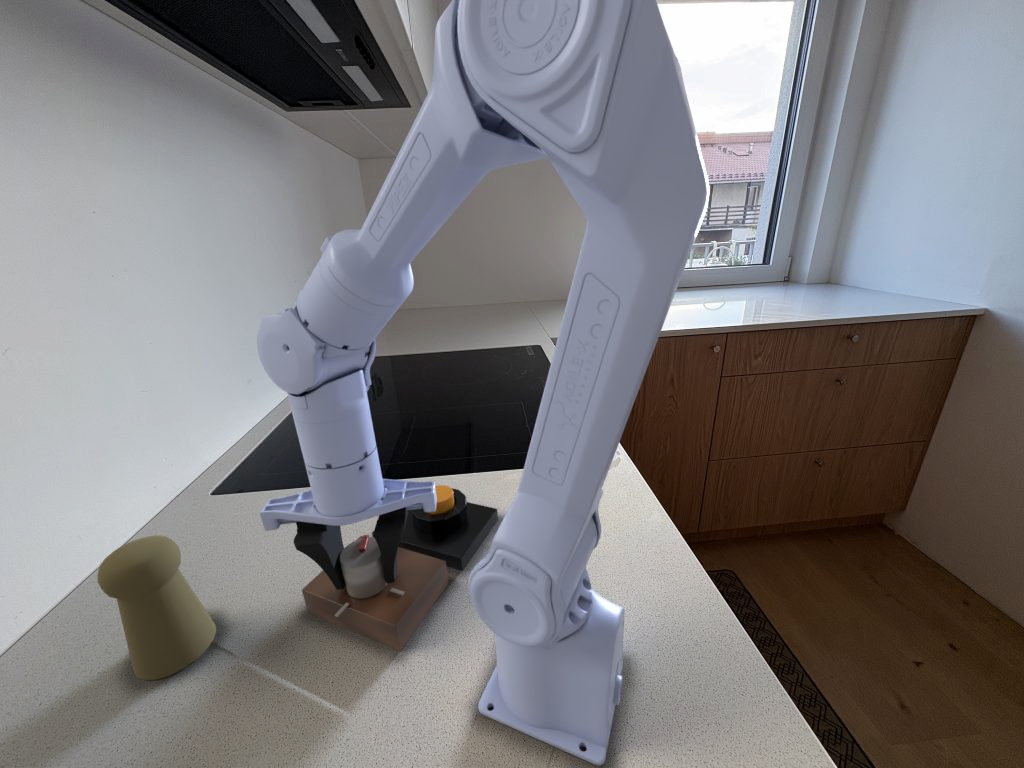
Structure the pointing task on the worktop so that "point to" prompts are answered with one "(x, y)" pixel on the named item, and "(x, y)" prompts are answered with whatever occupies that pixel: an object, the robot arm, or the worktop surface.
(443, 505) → the power button
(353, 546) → the dimmer knob
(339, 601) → the dimmer panel
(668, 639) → the worktop surface
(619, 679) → the robot arm
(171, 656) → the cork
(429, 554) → the lamp switch
